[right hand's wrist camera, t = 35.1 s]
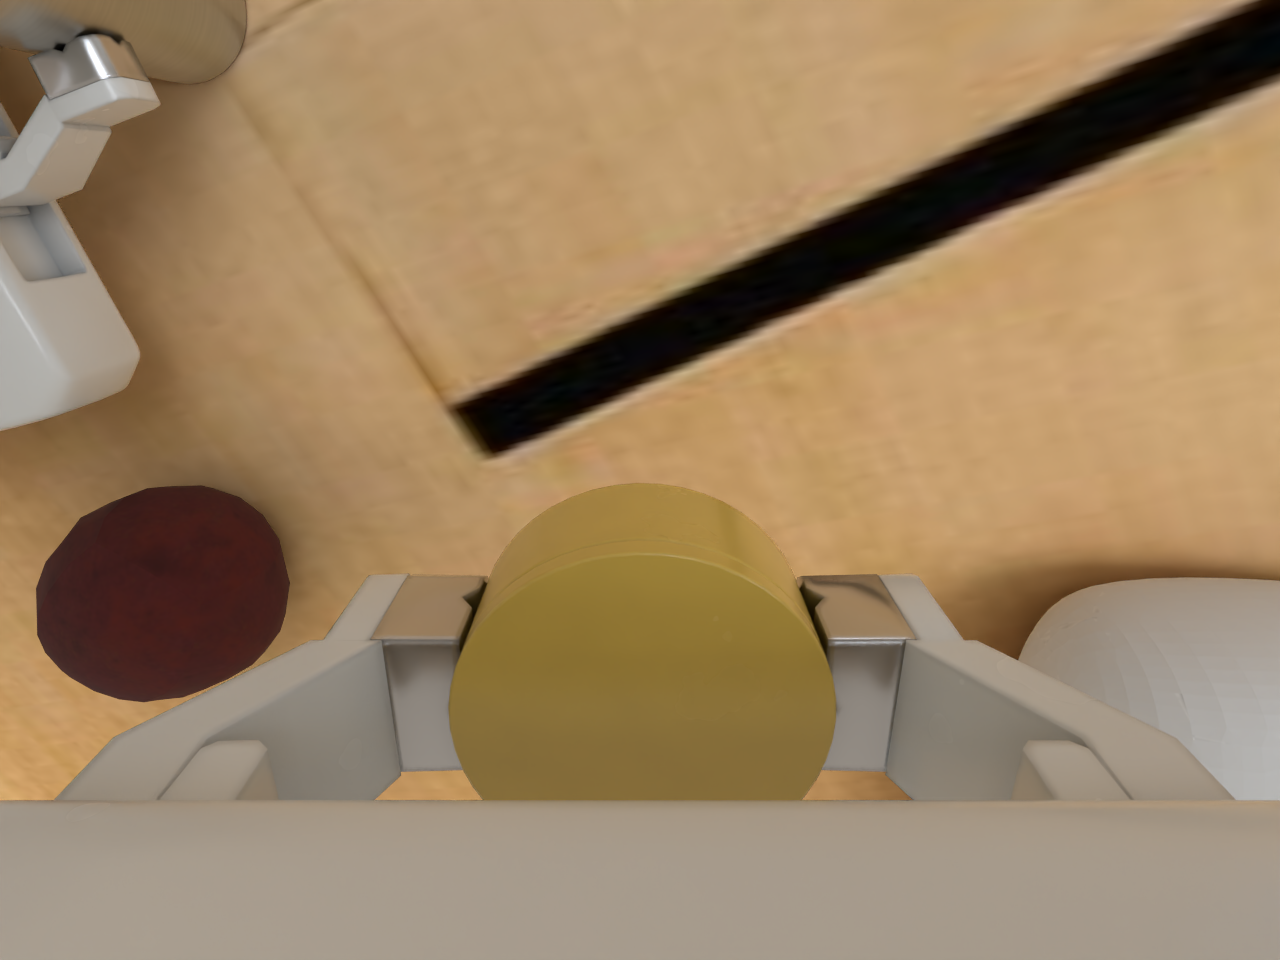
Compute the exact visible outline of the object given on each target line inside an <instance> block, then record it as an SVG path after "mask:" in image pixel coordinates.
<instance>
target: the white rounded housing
mask: <svg viewBox="0 0 1280 960" xmlns="http://www.w3.org/2000/svg"><path fill="white" fill-rule="evenodd" d="M1018 661H1020V662H1022V663H1024V664H1026V665H1028V666H1030V667H1032V668H1034V669H1036V670H1038V671H1040V672H1042V673H1044V674H1047V675H1049V676H1051V677H1053V678H1055V679H1057V680H1059V681H1061V682H1063V683H1065V684H1067V685H1069V686H1071V687H1073V688H1075V689H1077V690H1079V691H1081V692H1083V693H1085V694H1087V695H1089V696H1091V697H1094V698H1096V699H1098V700H1100V701H1102V702H1104V703H1106V704H1108V705H1110V706H1112V707H1114V708H1116V709H1118V710H1120V711H1122V712H1124V713H1126V714H1128V715H1130V716H1132V717H1134V718H1136V719H1138V720H1141V721H1143V722H1145V723H1147V724H1149V725H1151V726H1153V727H1155V728H1157V729H1159V730H1161V731H1163V732H1165V733H1167V734H1169V735H1171V736H1173V737H1175V738H1177V739H1178V740H1179V741H1180V742H1181V743H1182V744H1183V745H1184V746H1185V747H1186V748H1187V749H1188V750H1189V751H1190V752H1191V753H1192V754H1193V755H1194V757H1195V758H1196V759H1197V760H1198V761H1199V762H1200V763H1201V764H1202V765H1203V766H1204V767H1205V768H1206V769H1207V770H1208V771H1209V772H1210V773H1211V774H1212V775H1213V776H1214V777H1215V778H1216V779H1217V780H1218V781H1219V783H1220V784H1221V785H1222V786H1223V787H1224V788H1225V789H1226V790H1227V791H1228V792H1229V793H1230V794H1231V795H1232V796H1233V797H1234V798H1235V799H1236V800H1280V581H1276V580H1260V579H1238V578H1193V577H1183V578H1150V579H1138V580H1126V581H1118V582H1112V583H1106V584H1101V585H1095V586H1091V587H1087V588H1084V589H1081V590H1078V591H1076V592H1074V593H1072V594H1070V595H1068V596H1066V597H1064V598H1062V599H1061V600H1060V601H1058V602H1057V603H1056V604H1054V605H1053V606H1052V607H1051V608H1050V609H1049V610H1048V611H1047V612H1046V613H1045V614H1044V615H1043V616H1042V618H1041V619H1040V620H1039V621H1038V623H1037V624H1036V626H1035V627H1034V629H1033V631H1032V632H1031V634H1030V636H1029V637H1028V639H1027V641H1026V643H1025V645H1024V647H1023V649H1022V652H1021V654H1020V657H1019V659H1018Z"/></svg>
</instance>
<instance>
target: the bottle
mask: <svg viewBox="0 0 1280 960" xmlns="http://www.w3.org/2000/svg"><path fill="white" fill-rule="evenodd" d="M245 30H246V5H245V0H0V47H5V48H9V49H14V50H19V51H24V52H29V53H34V54H38V53H40V52H43V51H46V50H50V49H56V50H61V51H63V50H64V48H65V45H66V43H68V42H70V41H71V40H73V39H75V38H77V37H81V36H86V35H92V34H96V35H106V36H110V37H111V38H112V39H113V40H114V41H115V42H117V41H120V40H124V41H127V42H130V43H131V45H132V47H133V49H134V51H135V53H136V55H137V57H138V59H139V61H140V63H141V65H142V67H143V69H144V71H145V73H146V75H147V77H151V78H156V79H161V80H166V81H171V82H176V83H183V84H195V83H201V82H205V81H208V80H210V79H213V78H215V77H217V76H218V75H220V74H221V73H223V72H224V71H225V70H226V69H227V68H228V67H229V66H230V65H231V64H232V62H233V61H234V60H235V58H236V56H237V55H238V53H239V51H240V49H241V46H242V44H243V40H244V36H245Z"/></svg>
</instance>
